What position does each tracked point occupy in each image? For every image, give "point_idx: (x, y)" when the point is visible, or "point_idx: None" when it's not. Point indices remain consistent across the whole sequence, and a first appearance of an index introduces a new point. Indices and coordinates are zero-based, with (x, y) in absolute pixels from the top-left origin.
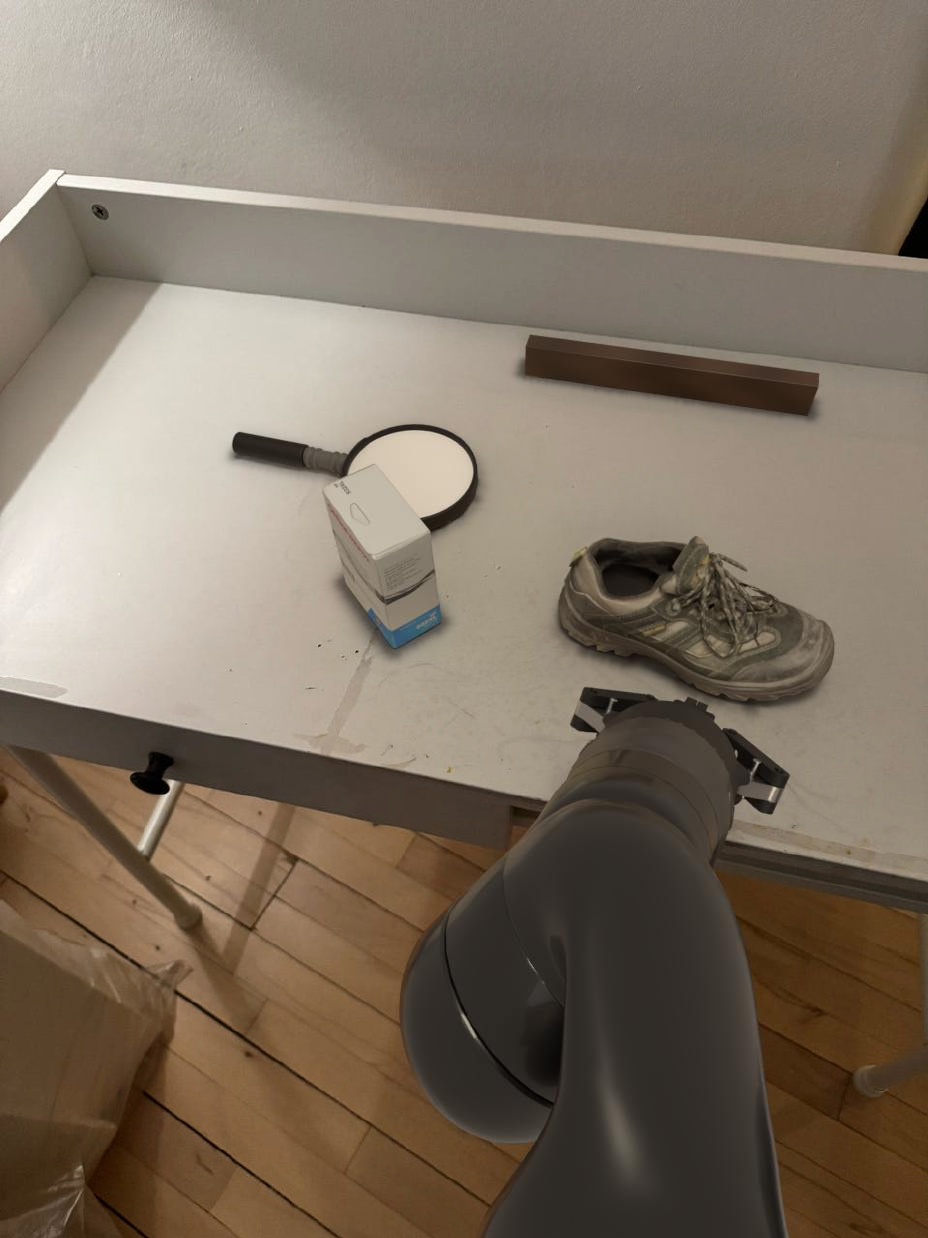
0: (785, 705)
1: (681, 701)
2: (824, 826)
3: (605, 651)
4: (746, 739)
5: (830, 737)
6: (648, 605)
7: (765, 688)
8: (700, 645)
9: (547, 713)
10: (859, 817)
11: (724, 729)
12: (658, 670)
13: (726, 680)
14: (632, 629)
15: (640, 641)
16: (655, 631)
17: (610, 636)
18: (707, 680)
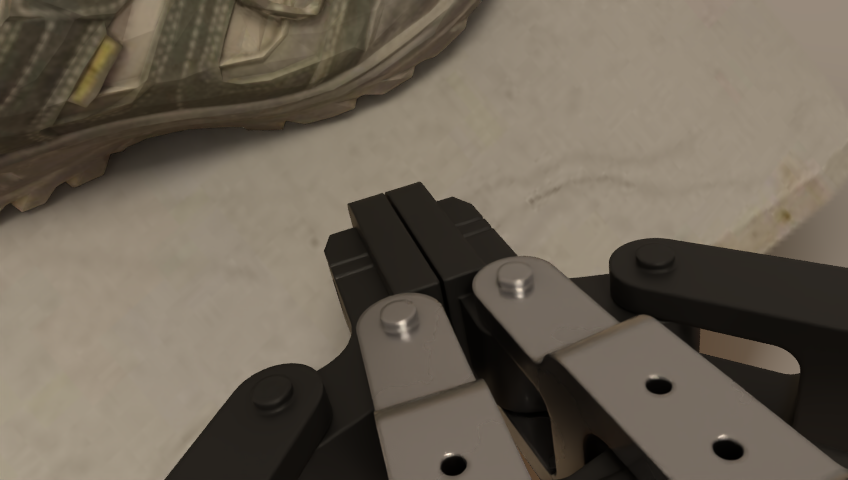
0: (477, 27)
1: (345, 235)
2: (719, 202)
3: (45, 200)
4: (723, 249)
5: (590, 28)
6: (2, 10)
7: (439, 20)
8: (243, 24)
9: (35, 466)
10: (747, 136)
11: (624, 275)
12: (197, 147)
13: (355, 63)
14: (36, 113)
15: (93, 124)
16: (101, 72)
17: (11, 166)
18: (317, 94)
